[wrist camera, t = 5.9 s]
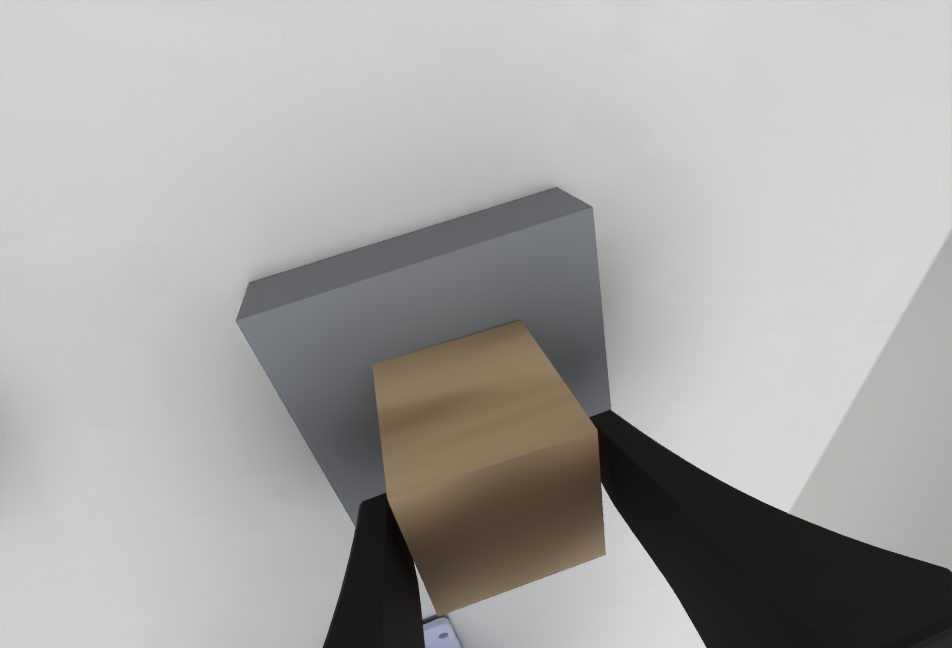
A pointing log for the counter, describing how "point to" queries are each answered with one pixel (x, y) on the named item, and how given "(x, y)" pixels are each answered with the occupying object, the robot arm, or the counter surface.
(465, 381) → the oak block
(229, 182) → the counter surface
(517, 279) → the charcoal base
